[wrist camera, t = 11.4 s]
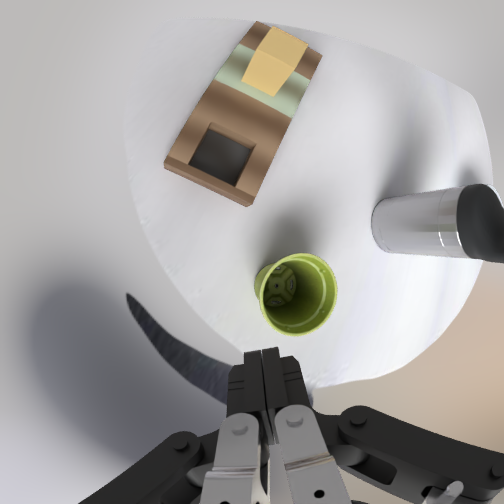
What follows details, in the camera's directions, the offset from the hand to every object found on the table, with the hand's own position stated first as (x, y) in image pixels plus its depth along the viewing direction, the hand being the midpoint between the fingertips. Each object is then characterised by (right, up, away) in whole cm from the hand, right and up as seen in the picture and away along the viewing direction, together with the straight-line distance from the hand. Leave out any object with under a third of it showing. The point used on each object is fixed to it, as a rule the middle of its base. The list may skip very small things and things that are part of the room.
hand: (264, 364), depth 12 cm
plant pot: (+3, +1, +28) cm, 28 cm away
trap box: (-1, +26, +26) cm, 37 cm away
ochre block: (+1, +29, +23) cm, 37 cm away
